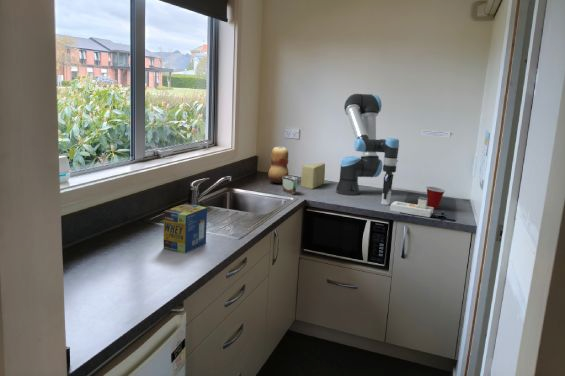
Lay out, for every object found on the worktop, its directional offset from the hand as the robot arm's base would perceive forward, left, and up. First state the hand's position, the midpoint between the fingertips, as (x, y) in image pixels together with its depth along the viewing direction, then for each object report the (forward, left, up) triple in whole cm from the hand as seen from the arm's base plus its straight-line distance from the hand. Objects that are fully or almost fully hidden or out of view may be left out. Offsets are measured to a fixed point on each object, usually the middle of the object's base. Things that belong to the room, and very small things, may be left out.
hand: (385, 203), depth 280 cm
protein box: (-48, -127, -1) cm, 136 cm away
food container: (-57, -12, -1) cm, 58 cm away
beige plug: (+23, -8, 0) cm, 24 cm away
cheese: (-54, +18, -1) cm, 57 cm away
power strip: (+21, -8, 0) cm, 22 cm away
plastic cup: (+26, +10, -1) cm, 28 cm away
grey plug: (0, 0, 0) cm, 0 cm away
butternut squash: (-77, +8, -1) cm, 77 cm away
